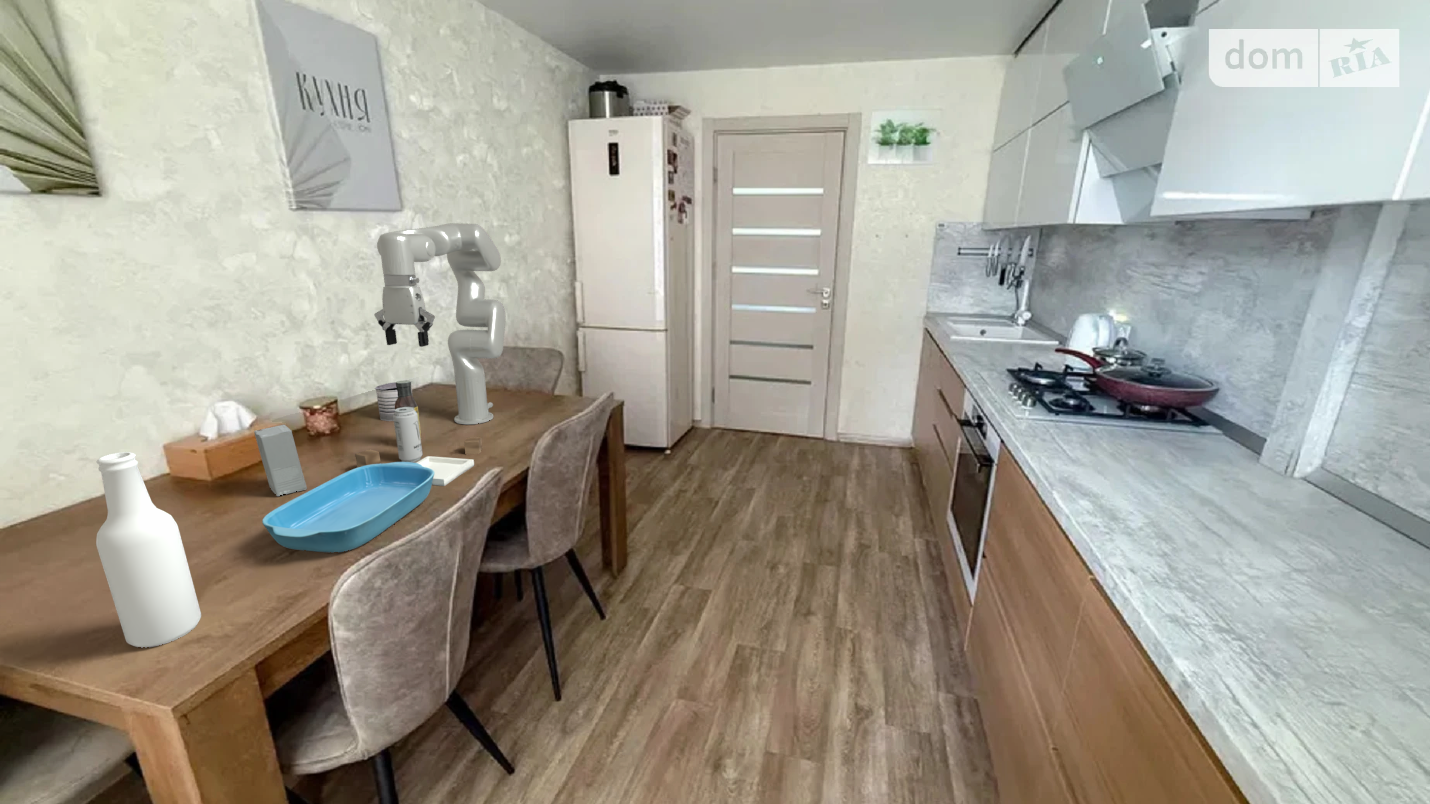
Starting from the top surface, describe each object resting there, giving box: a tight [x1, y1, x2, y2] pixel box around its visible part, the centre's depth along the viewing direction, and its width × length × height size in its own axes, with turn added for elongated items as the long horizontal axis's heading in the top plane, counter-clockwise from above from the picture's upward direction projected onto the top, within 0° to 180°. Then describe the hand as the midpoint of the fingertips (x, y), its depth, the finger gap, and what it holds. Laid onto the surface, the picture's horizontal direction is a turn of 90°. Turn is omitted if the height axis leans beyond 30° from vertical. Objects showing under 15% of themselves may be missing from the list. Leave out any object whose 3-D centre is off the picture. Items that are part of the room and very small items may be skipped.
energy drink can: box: [393, 407, 423, 463], centre depth 160 cm, size 6×6×15 cm
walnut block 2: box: [463, 436, 483, 455], centre depth 169 cm, size 4×4×4 cm
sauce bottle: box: [395, 379, 422, 439], centre depth 171 cm, size 6×6×20 cm
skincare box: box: [253, 424, 308, 497], centre depth 140 cm, size 8×7×16 cm
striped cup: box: [374, 381, 413, 422], centre depth 199 cm, size 11×11×12 cm
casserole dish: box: [261, 461, 434, 554], centre depth 126 cm, size 37×22×7 cm, turn 173°
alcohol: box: [95, 451, 202, 649], centre depth 87 cm, size 9×9×30 cm
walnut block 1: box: [354, 448, 382, 468], centre depth 154 cm, size 4×4×5 cm
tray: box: [415, 455, 475, 487], centre depth 153 cm, size 14×14×2 cm
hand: (407, 345), depth 156 cm, fingers open, 9 cm apart
